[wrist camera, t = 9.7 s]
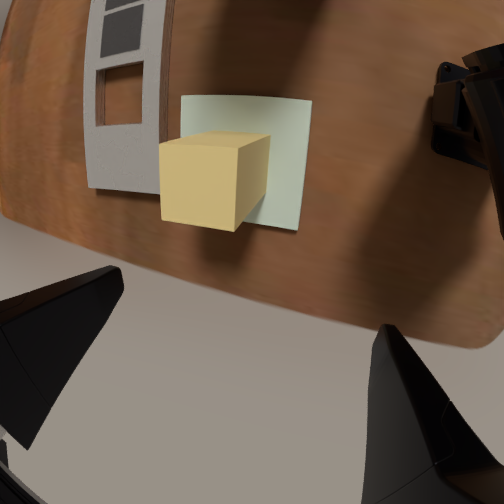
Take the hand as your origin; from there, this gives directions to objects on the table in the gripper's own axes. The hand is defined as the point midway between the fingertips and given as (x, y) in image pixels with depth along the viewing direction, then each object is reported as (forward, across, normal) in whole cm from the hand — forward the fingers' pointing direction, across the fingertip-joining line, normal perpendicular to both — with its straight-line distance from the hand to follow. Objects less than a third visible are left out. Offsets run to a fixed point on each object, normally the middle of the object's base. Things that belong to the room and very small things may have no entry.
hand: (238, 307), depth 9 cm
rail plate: (+13, +14, -9) cm, 21 cm away
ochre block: (+12, +4, -2) cm, 13 cm away
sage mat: (+13, +4, -2) cm, 14 cm away
